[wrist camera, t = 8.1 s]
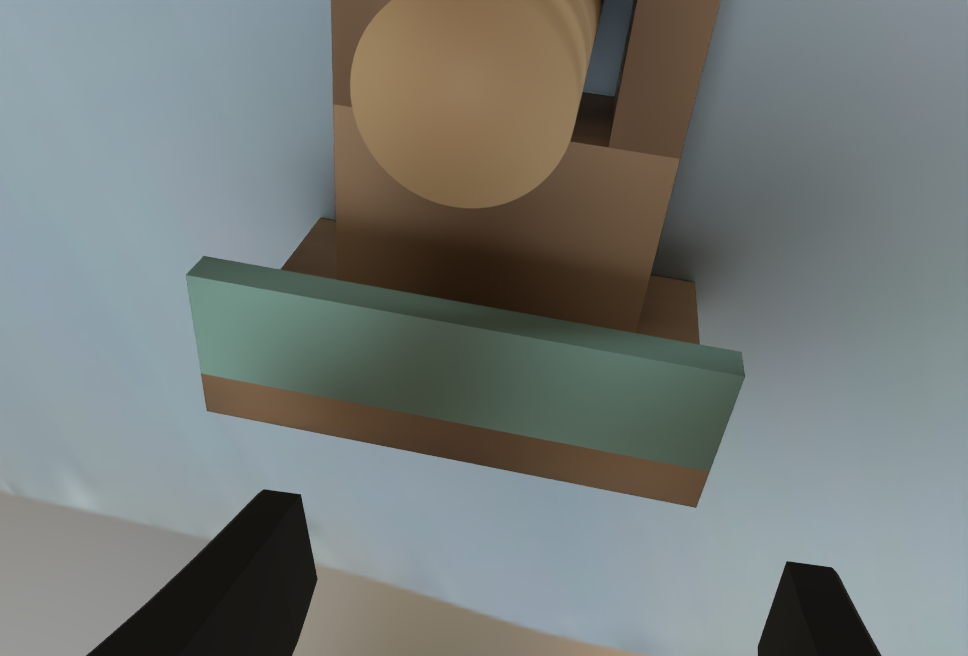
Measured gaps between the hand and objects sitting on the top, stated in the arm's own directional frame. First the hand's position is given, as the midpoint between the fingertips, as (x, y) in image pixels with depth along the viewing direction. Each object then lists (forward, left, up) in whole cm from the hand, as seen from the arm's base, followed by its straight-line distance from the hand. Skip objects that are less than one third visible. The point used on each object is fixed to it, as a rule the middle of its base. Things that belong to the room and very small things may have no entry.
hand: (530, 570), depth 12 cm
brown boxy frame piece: (+2, -4, -10) cm, 11 cm away
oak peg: (+2, -6, -10) cm, 12 cm away
